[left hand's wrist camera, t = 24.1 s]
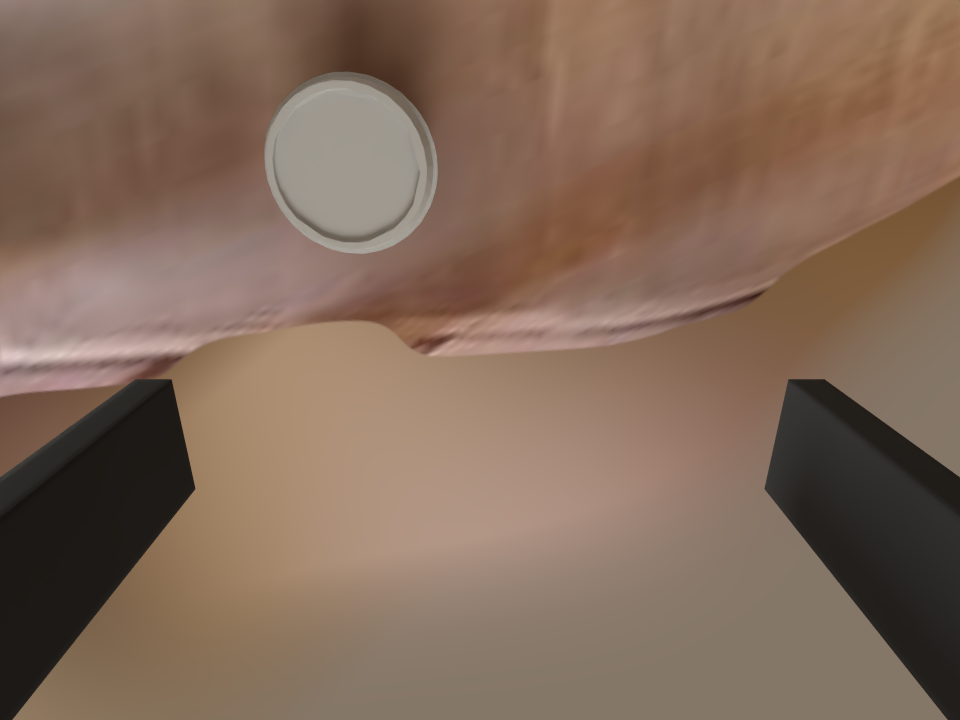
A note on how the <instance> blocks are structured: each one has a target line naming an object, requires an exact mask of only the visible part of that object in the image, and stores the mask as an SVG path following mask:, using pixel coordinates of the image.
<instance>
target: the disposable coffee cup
mask: <svg viewBox="0 0 960 720" xmlns="http://www.w3.org/2000/svg"><path fill="white" fill-rule="evenodd" d="M264 159H265V169H266V174H267V179H268V183H269V186H270V188H271V191H272V194H273V196H274V198H275V200H276V202H277V204H278V206H279V207H280V209H281V211H282V212H283V213H284V214H285V216H286V217H287V218H288V220H289V221H290V222H291V223H292V224H293V225H294V226H295V227H296V228H297V229H298V230H299V231H300V232H301V233H302V234H304V235H305V236H307V237H308V238H310V239H311V240H313V241H314V242H316V243H318V244H320V245H322V246H325V247H327V248H329V249H333V250H337V251H340V252H344V253H361V254H365V253H370V252H376V251H380V250H383V249H386V248H388V247H391V246H393V245H395V244H397V243H398V242H400V241H401V240H403V239H404V238H406V237H407V236H409V235H410V234H411V233H412V232H413V231H414V229H415V228H416V227H417V226H418V225H419V224H420V223H421V222H422V220H423V218H424V217H425V215H426V213H427V211H428V210H429V208H430V206H431V203H432V200H433V197H434V194H435V191H436V185H437V178H438V167H437V155H436V150H435V146H434V142H433V139H432V136H431V134H430V131H429V128H428V126H427V124H426V123H425V121H424V119H423V117H422V116H421V114H420V113H419V112H418V110H417V109H416V107H415V106H414V105H413V104H412V103H411V102H410V101H409V100H408V99H407V98H406V97H405V96H404V95H403V94H402V93H401V92H400V91H398V90H397V89H395V88H394V87H392V86H391V85H389V84H388V83H386V82H384V81H381V80H379V79H377V78H375V77H372V76H370V75H366V74H360V73H354V72H349V71H348V72H331V73H327V74H323V75H320V76H316V77H314V78H312V79H310V80H308V81H306V82H304V83H302V84H300V85H299V86H298V87H297V88H295V89H294V90H293V91H292V92H291V93H290V94H288V95H287V96H286V98H285V99H284V100H283V101H282V103H281V104H280V105H279V107H278V108H277V110H276V112H275V114H274V116H273V118H272V119H271V122H270V125H269V128H268V131H267V136H266V141H265V158H264Z"/></svg>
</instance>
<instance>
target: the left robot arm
mask: <svg viewBox="0 0 960 720" xmlns="http://www.w3.org/2000/svg"><path fill="white" fill-rule="evenodd" d="M194 490H195V485H194V480H193V476H192V471H191V466H190V462H189V457H188V453H187V448H186V444H185V439H184V435H183V430H182V425H181V421H180V416H179V411H178V407H177V402H176V398H175V393H174V389H173V384H172V380H171V379H135V380H134V381H133V382H131V383H130V384H129V385H127V386H126V387H124V388H123V389H122V390H120V391H119V392H118V393H116V394H115V395H113V396H112V397H111V398H109V399H108V400H107V401H105V402H104V403H102V404H101V405H100V406H98V407H97V408H95V409H94V410H93V411H91V412H90V413H89V414H87V415H86V416H84V417H83V418H82V419H80V420H79V421H77V422H76V423H75V424H73V425H72V426H70V427H69V428H68V429H66V430H65V431H64V432H62V433H61V434H59V435H58V436H57V437H55V438H54V439H53V440H51V441H50V442H48V443H47V444H46V445H44V446H43V447H41V448H40V449H39V450H37V451H36V452H35V453H33V454H32V455H30V456H29V457H28V458H26V459H25V460H23V461H22V462H21V463H19V464H18V465H17V466H15V467H14V468H12V469H11V470H10V471H8V472H7V473H6V474H4V475H3V476H1V477H0V720H12V719H13V718H14V717H15V716H16V714H17V713H18V712H19V711H20V709H21V708H22V707H23V706H24V704H25V703H26V702H27V701H28V699H29V698H30V697H31V696H32V694H33V693H34V692H35V690H36V689H37V688H38V687H39V685H40V684H41V683H42V682H43V680H44V679H45V678H46V677H47V675H48V674H49V673H50V672H51V670H52V669H53V668H54V666H55V665H56V664H57V663H58V661H59V660H60V659H61V658H62V656H63V655H64V654H65V653H66V651H67V650H68V649H69V648H70V646H71V645H72V644H73V643H74V641H75V640H76V639H77V637H78V636H79V635H80V634H81V632H82V631H83V630H84V629H85V627H86V626H87V625H88V624H89V622H90V621H91V620H92V619H93V617H94V616H95V615H96V614H97V612H98V611H99V610H100V609H101V607H102V606H103V605H104V603H105V602H106V601H107V600H108V598H109V597H110V596H111V595H112V593H113V592H114V591H115V590H116V588H117V587H118V586H119V585H120V583H121V582H122V581H123V580H124V578H125V577H126V576H127V575H128V573H129V572H130V571H131V569H132V568H133V567H134V566H135V564H136V563H137V562H138V561H139V559H140V558H141V557H142V556H143V554H144V553H145V552H146V551H147V549H148V548H149V547H150V546H151V544H152V543H153V542H154V540H155V539H156V538H157V537H158V535H159V534H160V533H161V532H162V530H163V529H164V528H165V527H166V525H167V524H168V523H169V522H170V520H171V519H172V518H173V517H174V515H175V514H176V513H177V511H178V510H179V509H180V508H181V506H182V505H183V504H184V503H185V501H186V500H187V499H188V498H189V496H190V495H191V494H192V493H193V491H194ZM765 490H766V491H767V493H768V494H769V495H770V496H771V498H772V499H773V500H774V501H775V503H776V504H777V505H778V506H779V508H780V509H781V510H782V511H783V513H784V514H785V515H786V517H787V518H788V519H789V520H790V522H791V523H792V524H793V525H794V527H795V528H796V529H797V530H798V532H799V533H800V534H801V535H802V537H803V538H804V539H805V540H806V542H807V543H808V544H809V546H810V547H811V548H812V549H813V551H814V552H815V553H816V554H817V556H818V557H819V558H820V559H821V561H822V562H823V563H824V564H825V566H826V567H827V568H828V569H829V571H830V572H831V573H832V574H833V576H834V577H835V578H836V580H837V581H838V582H839V583H840V585H841V586H842V587H843V588H844V590H845V591H846V592H847V593H848V595H849V596H850V597H851V598H852V600H853V601H854V602H855V603H856V605H857V606H858V607H859V608H860V610H861V611H862V612H863V614H864V615H865V616H866V617H867V619H868V620H869V621H870V622H871V624H872V625H873V626H874V627H875V629H876V630H877V631H878V632H879V634H880V635H881V636H882V638H883V639H884V640H885V641H886V643H887V644H888V645H889V646H890V648H891V649H892V650H893V651H894V653H895V654H896V655H897V656H898V658H899V659H900V660H901V661H902V663H903V664H904V665H905V667H906V668H907V669H908V670H909V672H910V673H911V674H912V675H913V677H914V678H915V679H916V680H917V682H918V683H919V684H920V685H921V687H922V688H923V689H924V690H925V692H926V693H927V694H928V695H929V697H930V698H931V699H932V701H933V702H934V703H935V704H936V706H937V707H938V708H939V709H940V711H941V712H942V713H943V714H944V716H945V717H946V718H947V719H948V720H960V477H959V476H957V475H956V474H954V473H953V472H952V471H950V470H949V469H948V468H946V467H945V466H943V465H942V464H941V463H939V462H938V461H937V460H935V459H934V458H932V457H931V456H930V455H928V454H927V453H925V452H924V451H923V450H921V449H920V448H919V447H917V446H916V445H914V444H913V443H912V442H910V441H909V440H907V439H906V438H905V437H903V436H902V435H901V434H899V433H898V432H896V431H895V430H894V429H892V428H891V427H890V426H888V425H887V424H885V423H884V422H883V421H881V420H880V419H878V418H877V417H876V416H874V415H873V414H872V413H870V412H869V411H867V410H866V409H865V408H863V407H862V406H860V405H859V404H858V403H856V402H855V401H854V400H852V399H851V398H849V397H848V396H847V395H845V394H844V393H843V392H841V391H840V390H838V389H837V388H836V387H834V386H833V385H831V384H830V383H829V382H827V381H826V380H825V379H789V380H788V384H787V388H786V393H785V398H784V402H783V407H782V412H781V416H780V421H779V425H778V430H777V434H776V439H775V443H774V448H773V453H772V457H771V462H770V466H769V471H768V476H767V480H766V485H765Z"/></svg>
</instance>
